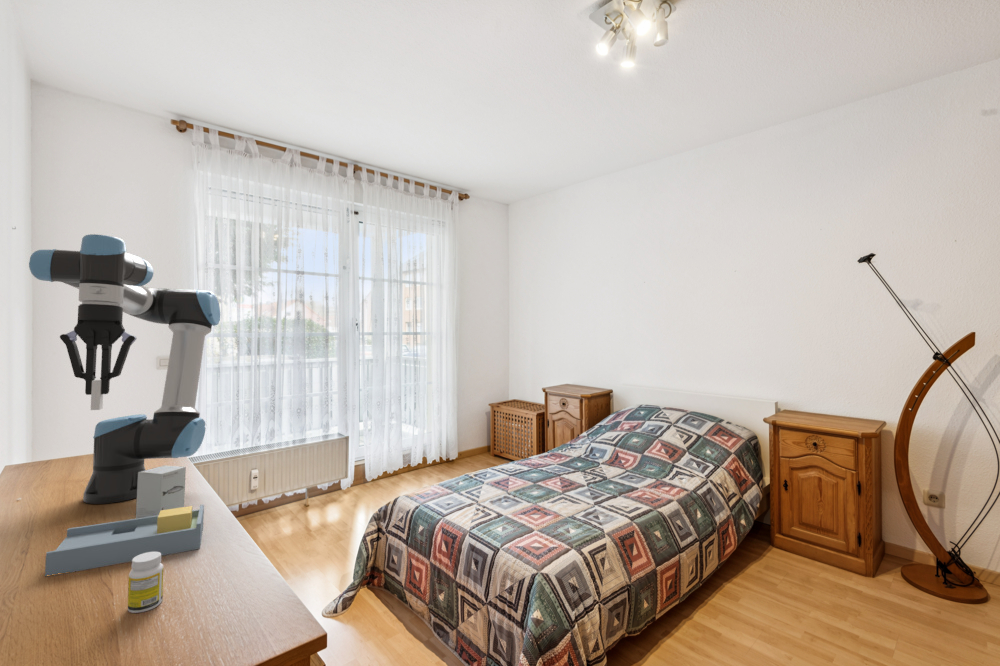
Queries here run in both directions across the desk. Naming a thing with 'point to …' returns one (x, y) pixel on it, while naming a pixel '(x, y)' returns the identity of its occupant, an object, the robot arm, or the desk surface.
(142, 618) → the desk surface
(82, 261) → the robot arm
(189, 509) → the block
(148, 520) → the tray
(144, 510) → the supplement box
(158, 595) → the supplement bottle
